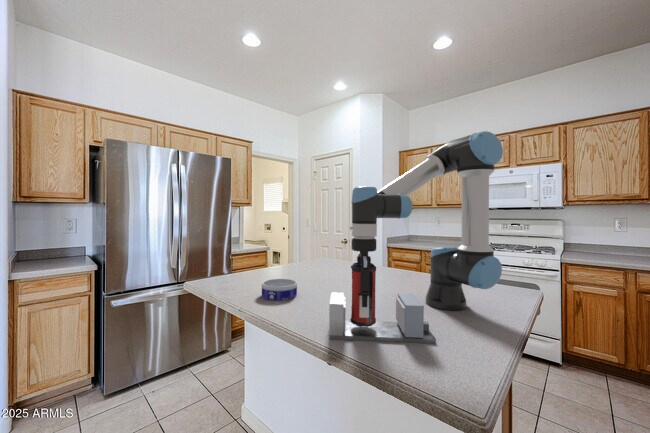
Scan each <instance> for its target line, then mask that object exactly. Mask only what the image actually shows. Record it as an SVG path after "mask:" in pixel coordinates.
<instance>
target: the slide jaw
mask: <svg viewBox="0 0 650 433" xmlns="http://www.w3.org/2000/svg"><path fill="white" fill-rule="evenodd" d="M424 307H425V306H424V305H423V302H421V301H420V299H419V298H418V297H417V296H416V294H415V293H403V292H402V293H400V292H399V293H397V296H396V298H395V320H396V322H398V324H399V326H400V328H401V330H402V332H403V333H404V336H405V337H416V338H423V331H429V330H430V323H429V322H428V321H425V319H424V315H425V311H424V310H425V308H424Z"/></svg>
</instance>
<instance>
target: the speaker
mask: <svg viewBox="0 0 650 433" xmlns="http://www.w3.org/2000/svg"><path fill="white" fill-rule="evenodd" d="M350 268H351V314H350V321H351V322H352V323H353V324H355V325H356V326H360V327H361V326H366V327H369V326H371V325H374V324H375V323H376V321H377V319H376V271H377V266H376V265H375V264H374V263H372V262H371V263H370V295H369V318H361V317H359V311H360V296H358V293H360V275H361V266H360V265H358V262H354V263H353V264H351V265H350Z"/></svg>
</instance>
